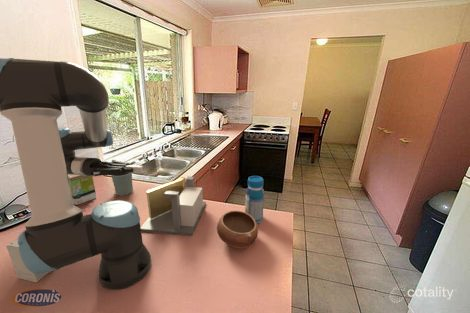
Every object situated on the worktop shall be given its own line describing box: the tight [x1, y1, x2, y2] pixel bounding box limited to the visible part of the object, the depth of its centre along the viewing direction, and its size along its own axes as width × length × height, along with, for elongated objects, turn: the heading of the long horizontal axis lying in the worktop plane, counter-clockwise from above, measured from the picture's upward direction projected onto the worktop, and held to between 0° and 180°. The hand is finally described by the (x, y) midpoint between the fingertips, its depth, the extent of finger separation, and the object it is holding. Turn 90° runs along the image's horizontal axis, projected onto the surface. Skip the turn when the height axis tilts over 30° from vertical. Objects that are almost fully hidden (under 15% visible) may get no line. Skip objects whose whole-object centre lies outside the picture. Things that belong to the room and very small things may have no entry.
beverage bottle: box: [244, 175, 265, 224], centre depth 94 cm, size 8×8×20 cm
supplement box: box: [5, 238, 50, 283], centre depth 66 cm, size 7×7×13 cm
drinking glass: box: [110, 172, 134, 196], centre depth 116 cm, size 10×10×12 cm
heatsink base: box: [140, 176, 207, 236], centre depth 95 cm, size 22×24×17 cm
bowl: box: [216, 210, 259, 249], centre depth 82 cm, size 16×16×10 cm
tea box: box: [68, 174, 97, 206], centre depth 109 cm, size 15×10×15 cm, turn 58°
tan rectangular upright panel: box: [145, 177, 187, 219], centre depth 97 cm, size 2×19×13 cm, turn 140°
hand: (142, 169), depth 87 cm, fingers closed
